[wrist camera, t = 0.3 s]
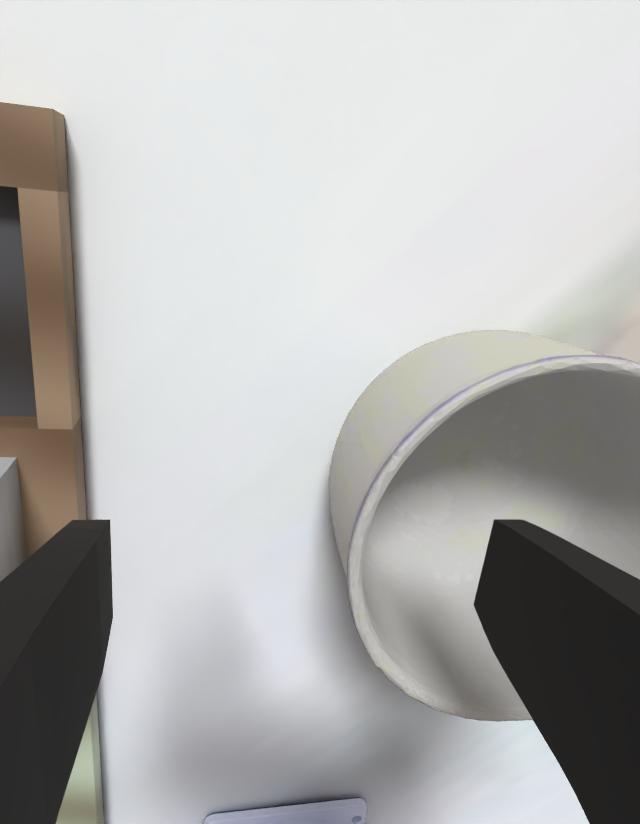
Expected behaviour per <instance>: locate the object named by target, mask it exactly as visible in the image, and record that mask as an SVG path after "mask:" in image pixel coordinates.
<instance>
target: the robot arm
mask: <svg viewBox="0 0 640 824" xmlns="http://www.w3.org/2000/svg"><path fill="white" fill-rule="evenodd" d="M473 605H474V607H475V610H476V612H477V615H478V617H479V620H480V622H481V625H482V627H483V630H484V632H485V634H486V637H487V639H488V641H489V643H490V646H491V648H492V650H493V652H494V654H495V656H496V658H497V659H498V661H499V663H500V665H501V666H502V668H503V670H504V671H505V673H506V675H507V677H508V678H509V680H510V682H511V684H512V685H513V687H514V689H515V690H516V692H517V694H518V695H519V697H520V699H521V700H522V702H523V704H524V705H525V707H526V709H527V710H528V712H529V714H530V716H531V717H532V719H533V721H534V722H535V724H536V726H537V727H538V729H539V731H540V732H541V734H542V736H543V737H544V739H545V741H546V742H547V744H548V746H549V747H550V749H551V751H552V752H553V754H554V756H555V757H556V759H557V761H558V762H559V764H560V766H561V768H562V770H563V772H564V773H565V775H566V777H567V779H568V781H569V782H570V784H571V786H572V788H573V790H574V792H575V794H576V796H577V798H578V800H579V802H580V804H581V806H582V808H583V810H584V812H585V815H586V817H587V819H588V821H589V823H590V824H640V579H638V578H636V577H634V576H632V575H630V574H628V573H626V572H625V571H623V570H621V569H619V568H617V567H615V566H613V565H611V564H610V563H608V562H606V561H604V560H602V559H600V558H598V557H597V556H595V555H593V554H591V553H589V552H587V551H585V550H584V549H582V548H580V547H578V546H576V545H574V544H572V543H571V542H569V541H567V540H565V539H563V538H561V537H559V536H557V535H555V534H553V533H551V532H549V531H547V530H545V529H543V528H541V527H539V526H537V525H534V524H532V523H530V522H527V521H525V520H522V519H494V521H493V525H492V530H491V534H490V538H489V542H488V546H487V550H486V554H485V559H484V563H483V567H482V571H481V575H480V579H479V584H478V588H477V592H476V596H475V600H474V604H473ZM112 618H113V607H112V572H111V538H110V520H72V521H70V522H69V523H68V524H67V525H66V526H64V527H63V528H62V529H61V530H60V531H59V532H57V533H56V534H55V535H54V536H53V537H52V538H50V539H49V540H48V541H47V542H46V543H45V544H44V545H42V546H41V547H40V548H39V549H38V550H37V551H36V552H34V553H33V554H32V555H31V556H30V557H29V558H28V559H26V560H25V561H24V562H23V563H22V564H21V565H20V566H18V567H17V568H16V569H15V570H14V571H12V572H11V573H10V574H9V575H8V576H6V577H5V578H4V579H3V580H2V581H0V824H56V821H57V817H58V813H59V810H60V807H61V804H62V801H63V798H64V794H65V791H66V788H67V785H68V782H69V778H70V775H71V772H72V769H73V766H74V762H75V759H76V756H77V753H78V750H79V747H80V743H81V740H82V737H83V734H84V731H85V727H86V724H87V721H88V718H89V715H90V711H91V708H92V705H93V702H94V698H95V695H96V692H97V689H98V685H99V682H100V679H101V675H102V672H103V667H104V662H105V657H106V651H107V646H108V641H109V635H110V629H111V624H112ZM366 814H367V806H366V802H365V801H364V800H363V799H361V798H353V799H344V800H335V801H326V802H317V803H308V804H299V805H290V806H281V807H272V808H263V809H254V810H245V811H236V812H226V813H217V814H212V815H209V816H207V817H206V818H205V819H204V822H203V824H365V819H366Z"/></svg>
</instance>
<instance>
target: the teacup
mask: <svg viewBox="0 0 640 824" xmlns="http://www.w3.org/2000/svg"><path fill="white" fill-rule="evenodd" d="M329 496H330V509H331V517H332V523H333V528H334V533H335V537H336V542H337V546H338V550H339V554H340V558H341V561H342V565H343V569H344V572H345V575H346V578H347V580H346V581H347V592H348V598H349V603H350V608H351V613H352V617H353V621H354V623H355V626H356V628H357V630H358V633H359V635H360V637H361V640H362V642H363V644H364V646H365V648H366V650H367V652H368V654H369V655H370V657H371V659H372V660H373V662H374V663H375V665H376V666H377V667H378V668H379V669H380V670H381V671H382V672H383V673H384V674H385V675H386V676H387V678H388V679H389V680H390V681H392V682H393V683H394V684H395V685H396V686H397V687H399V688H400V689H401V690H402V691H404V692H405V693H406V694H408V695H409V696H411V697H413V698H415V699H416V700H418V701H420V702H422V703H424V704H426V705H428V706H429V707H431V708H433V709H435V710H438V711H441V712H444V713H448V714H451V715H456V716H460V717H463V718H467V719H475V720H484V721H518V720H533V719H532V717H531V716H530V714H529V712H528V710H527V709H526V707H525V705H524V704H523V702H522V700H521V699H520V697H519V695H518V694H517V692H516V690H515V689H514V687H513V685H512V684H511V682H510V680H509V678H508V677H507V675H506V673H505V671H504V670H503V668H502V666H501V665H500V663H499V661H498V659H497V658H496V656H495V654H494V652H493V650H492V648H491V646H490V643H489V641H488V639H487V637H486V634H485V632H484V630H483V627H482V625H481V622H480V620H479V617H478V615H477V612H476V610H475V607H474V605H473V604H474V600H475V596H476V592H477V588H478V584H479V579H480V575H481V571H482V567H483V563H484V559H485V554H486V550H487V546H488V542H489V538H490V534H491V530H492V525H493V521H494V519H522V520H525V521H527V522H530V523H532V524H534V525H537V526H539V527H541V528H543V529H545V530H547V531H549V532H551V533H553V534H555V535H557V536H559V537H561V538H563V539H565V540H567V541H569V542H571V543H572V544H574V545H576V546H578V547H580V548H582V549H584V550H585V551H587V552H589V553H591V554H593V555H595V556H597V557H598V558H600V559H602V560H604V561H606V562H608V563H610V564H611V565H613V566H615V567H617V568H619V569H621V570H623V571H625V572H626V573H628V574H630V575H632V576H634V577H636V578H638V579H640V361H639V362H634V361H631V360H627V359H624V358H621V357H613V356H604V355H599V354H596V353H593V352H590V351H587V350H585V349H582V348H579V347H576V346H573V345H570V344H567V343H564V342H560V341H557V340H554V339H550V338H545V337H541V336H537V335H532V334H528V333H523V332H515V331H507V330H485V331H471V332H465V333H460V334H455V335H451V336H448V337H444V338H441V339H438V340H436V341H433V342H430V343H427V344H425V345H423V346H421V347H419V348H417V349H415V350H413V351H411V352H409V353H408V354H406V355H404V356H403V357H401V358H400V359H398V360H397V361H396V362H394V363H393V364H391V365H390V366H389V367H388V368H386V369H385V370H384V371H383V372H382V373H381V374H379V375H378V376H377V377H376V378H375V379H374V380H373V381H372V382H371V383H370V385H369V386H368V387H367V388H366V389H365V391H364V392H363V393H362V394H361V396H360V397H359V398H358V400H357V401H356V403H355V404H354V406H353V407H352V409H351V411H350V412H349V414H348V416H347V418H346V420H345V422H344V424H343V426H342V428H341V431H340V433H339V436H338V439H337V442H336V445H335V448H334V452H333V457H332V462H331V467H330V481H329Z"/></svg>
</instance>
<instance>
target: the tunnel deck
mask: <svg viewBox="0 0 640 824" xmlns="http://www.w3.org/2000/svg"><path fill="white" fill-rule="evenodd" d="M72 520H87V513H86V495H85V477H84V460H83V442H82V424H81V406H80V389H79V371H78V353H77V335H76V318H75V300H74V282H73V264H72V246H71V229H70V211H69V193H68V175H67V158H66V140H65V122H64V115H62V114H60V113H59V112H57V111H55V110H53V109H49V108H41V107H33V106H26V105H18V104H10V103H2V102H0V581H2V580H3V579H4V578H5V577H6V576H8V575H9V574H10V573H11V572H12V571H14V570H15V569H16V568H17V567H18V566H20V565H21V564H22V563H23V562H24V561H25V560H26V559H28V558H29V557H30V556H31V555H32V554H33V553H34V552H36V551H37V550H38V549H39V548H40V547H41V546H42V545H44V544H45V543H46V542H47V541H48V540H49V539H50V538H52V537H53V536H54V535H55V534H56V533H57V532H59V531H60V530H61V529H62V528H63V527H64V526H66V525H67V524H68V523H69V522H70V521H72ZM56 824H104V815H103V797H102V779H101V761H100V744H99V726H98V708H97V692H96V695H95V698H94V702H93V705H92V708H91V711H90V715H89V718H88V721H87V724H86V727H85V731H84V734H83V737H82V740H81V743H80V747H79V750H78V753H77V756H76V759H75V762H74V766H73V769H72V772H71V775H70V778H69V782H68V785H67V788H66V791H65V794H64V798H63V801H62V804H61V807H60V810H59V813H58V817H57V821H56Z"/></svg>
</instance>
